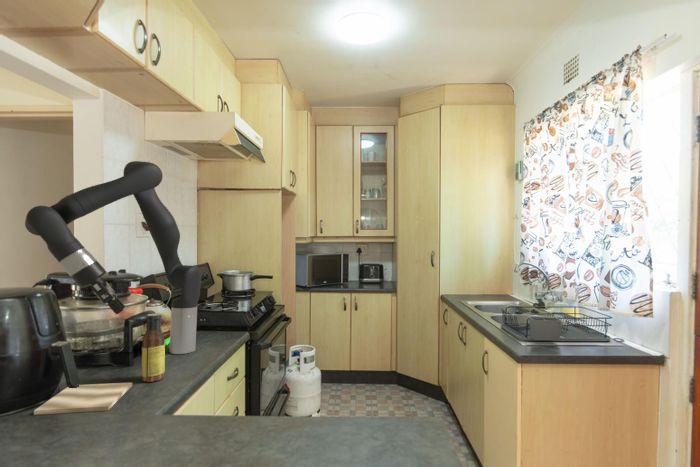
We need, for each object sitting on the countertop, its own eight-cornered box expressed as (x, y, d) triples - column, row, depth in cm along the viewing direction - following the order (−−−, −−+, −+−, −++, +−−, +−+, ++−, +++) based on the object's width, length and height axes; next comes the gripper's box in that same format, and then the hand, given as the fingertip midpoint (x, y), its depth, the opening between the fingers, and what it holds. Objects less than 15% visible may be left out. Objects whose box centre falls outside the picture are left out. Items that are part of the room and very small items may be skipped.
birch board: (69, 388, 103) (69, 385, 103) (132, 386, 107) (132, 382, 107) (33, 414, 88) (34, 410, 88) (108, 410, 91) (108, 406, 91)
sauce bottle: (168, 376, 115) (171, 313, 116) (156, 383, 109) (159, 316, 110) (148, 375, 116) (152, 312, 116) (135, 382, 109) (138, 315, 110)
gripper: (93, 259, 101) (132, 304, 105) (98, 260, 113) (133, 300, 117) (65, 276, 98) (106, 322, 101) (74, 275, 110) (110, 316, 114)
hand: (121, 310), depth 109 cm, fingers open, 8 cm apart
